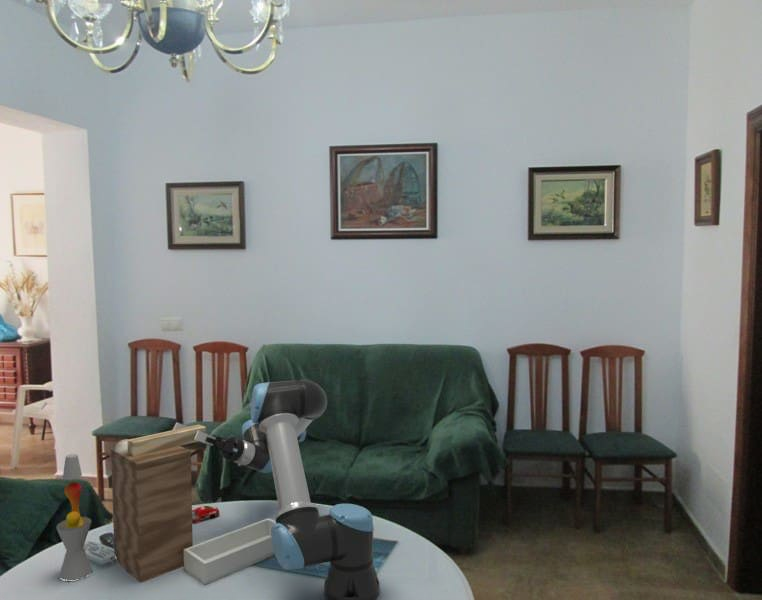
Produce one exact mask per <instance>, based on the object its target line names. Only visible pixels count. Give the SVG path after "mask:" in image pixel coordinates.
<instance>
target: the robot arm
mask: <svg viewBox="0 0 762 600" xmlns="http://www.w3.org/2000/svg"><path fill="white" fill-rule="evenodd" d="M327 406H328V398H327V393H326V392H325V391H324V389H323V388H322V387H321V386H320V385H319V384H318V383H316V382H314V381H312V380H309V379H295V380H293V379H292V380H284V381H283V380H282V381H271V382H269V381H267V382H261V383H257V384H256V385H255V386H253V389H252V393H251V401H250V419H248V420H247V421H245V422H244V423H243V424H242V426H241V434H242V439H241V438H239V437H236V436H230V437H229V438H226V439H225V438H223V437H221V436H219V435H217V436H216V435H211V434H208V433H207V432H206V433H203V432H200V431H198V432H197V434H196V436H195V438H194V439H195V440H198V441H197V442H201V443H203V444H206V445H208V446H210V447H212V448H214V449H215V450H217V451H220V452H221V456H222V458H223V459H224V460H227V461H230V462H234V463H236V464H237V466H238V467H241V466H243V467H247V468H250V469H251V470H254V471H256V472H258V473H259V472H260V473H263V474H264V473H265V474H269V473H271V472H272V477H273V481H274V487H275V493H276V499H277V506H278V509H279V512H278V514H277V516H275V519H274V521H276V524H274V525H273V526H272V528H271V537H272V545H273V549H274V553H275V555H274V556H275V558H276V560H277V563H278V565H279V566H281V568H282V569H284V570H287V571H289V570H297V569H299V570H301V569H304V568H306V567H311V566H315V565H321V564H325V563H326V564H327V563H329V568H328V570H327V576H326V579H325V580H324V582H323V583H324V584H323V595H324V598H325V599H326V600H376V599H377V598H378V597H379V595H380V580H379V578H378V575H377V572H376V571H377V570H376V569H375V566H374V565H375V564H374V530H375V529H374V522H373V520H374V519H373V514H372V513H371V512H370V510H368V509H367V508H366V507H363V506H361V505H358V504H353V503H337V504H335V505H333V506H331V507H330V509H329V512H328V513H329V514H326V515H325V514H324V515H320V513H319V509H318V507H317V506H316V505H314V504H312V502H311V498H310V493H309V488H308V483H307V479H306V475H305V469H304V465H303V461H302V454H301V451H300V446H299V443H300V442H304V441H305V440H306V435H307V427H309V425H310V424H311V423H312V422H313V421H314V420H316V419H319V418H320V417H321V416H322V415H323V414H324V412H325V411H326V409H327ZM185 427H189V426H188V425H184V424H183V423H180V422H177V421H176V423H175V424H174V427H173V428H172V430H176V429H181V428H185Z"/></svg>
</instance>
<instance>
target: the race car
mask: <svg viewBox="0 0 762 600" xmlns="http://www.w3.org/2000/svg"><path fill="white" fill-rule="evenodd" d="M219 516H220V510H219V508H218V507H217V506H215V505H212V506H211V505H203V506H198V507H195V508H194V509H192V525H193V524H196V523H200V522H203V521H208V520H212V519H213V520H214V519H215V518H217V517H219Z"/></svg>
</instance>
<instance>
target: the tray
mask: <svg viewBox="0 0 762 600" xmlns="http://www.w3.org/2000/svg"><path fill="white" fill-rule="evenodd" d="M274 524H276V521H275V519H272V518H270V517H268V518H266V519H263V520H260V521H257V522H255V523H251V524H249V525H245V526H243V527H240V528H238V529H234V530H233V531H230V532H227V533H225V534H222V535H219V536H217V537H214V538H211V539H209V540H205V541H203V542H200V543H197V544H195V545H194V544H193V546H192V547H189V548H186V549H184V566H183V569H184V571H186V572H187V573H188V574H190V575H191V576H193V577H194V578H195V579H197V580H198V581H199V582H200V583H202V584H203V585H208V584H210V583H213V582H214V581H218V580H219V579H223V578H225V577H226V576H228V575H229V576H230V575H231V574H234V573H236V572H238V571H241V570H243V569H246V568H248V567H251V566H253V565H256V564H257V563H259V562H262V561H264V560H267V559H268V557H269V558H272V557H274V556H275V553H274V549H273V545H272V537H271V528H272V526H273V525H274ZM273 555H274V556H273ZM266 558H267V559H266Z"/></svg>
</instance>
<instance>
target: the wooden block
mask: <svg viewBox="0 0 762 600" xmlns="http://www.w3.org/2000/svg"><path fill="white" fill-rule="evenodd" d="M127 440H129V439H121V440H119V442H117V443H116V445H115V446H114V448H112V449H111V451H110V454H111V456H110V458H111V459H110V460H111V462H110V463H111V484H112V485H111V487H112V488H111V490H112V492H111V493H112V522H113V524H112V525H113V550H114V551H113V552H114V553H113V555H114V554H115V555H116V557H117V561H118V563H119V564H120V565H119V564H118V563H117V564H118V565H119V566H120V567H122V568H123V569H124V570H125V569H126V570H125V571H126V572H128V573H129V574H130V575H131V576H132V577H133V578H135V579H136V580H137V581H138V582H139V583H143V582H145V581H149V580H151V579H154V578H156V577H158V576H161V575H163V574H166V573H169V572H172V571H174V570H176V569H179V568H182V567H184V549H186V548H189V547H192V546H194V541H193V540H194V537H193V530H194V529H193V524H192V510H193V496H192V495H193V493H192V492H193V490H192V489H193V488H192V451H191V450H190V449H188V448H185V447H183V446H182V445H180V446H176V447H172V448H168V449H163V450H159V451H155V452H151V453H147V454H142V455H138V456H132V455H130V454H128V444H127Z"/></svg>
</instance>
